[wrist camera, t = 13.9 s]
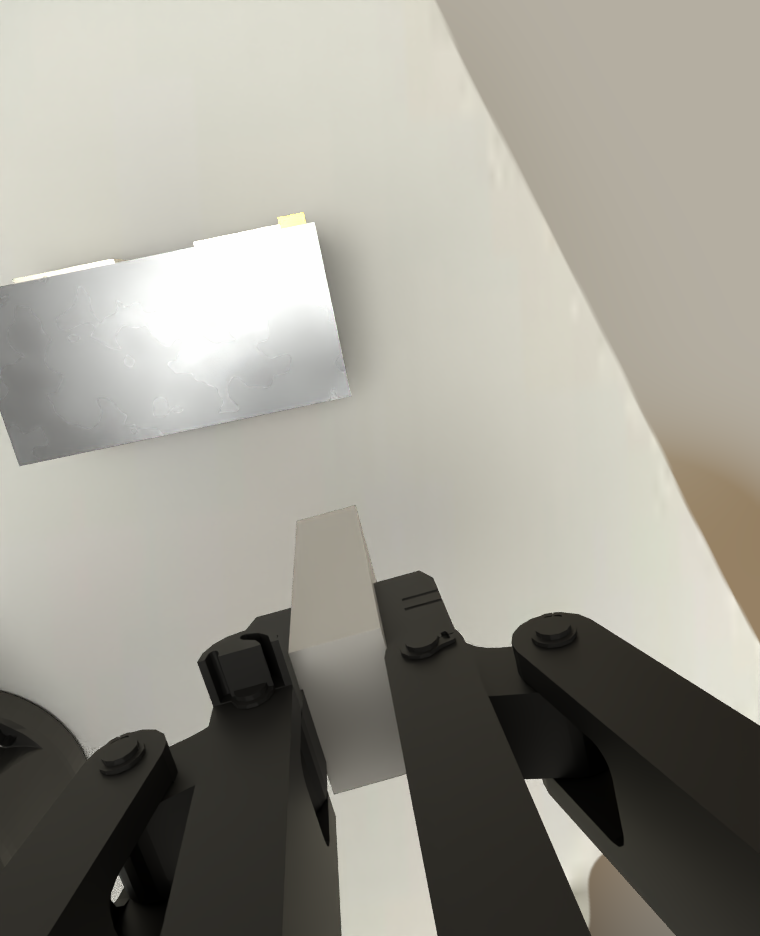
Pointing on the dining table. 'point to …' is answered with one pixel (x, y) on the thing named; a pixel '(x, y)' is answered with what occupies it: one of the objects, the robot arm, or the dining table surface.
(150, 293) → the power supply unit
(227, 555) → the dining table surface
